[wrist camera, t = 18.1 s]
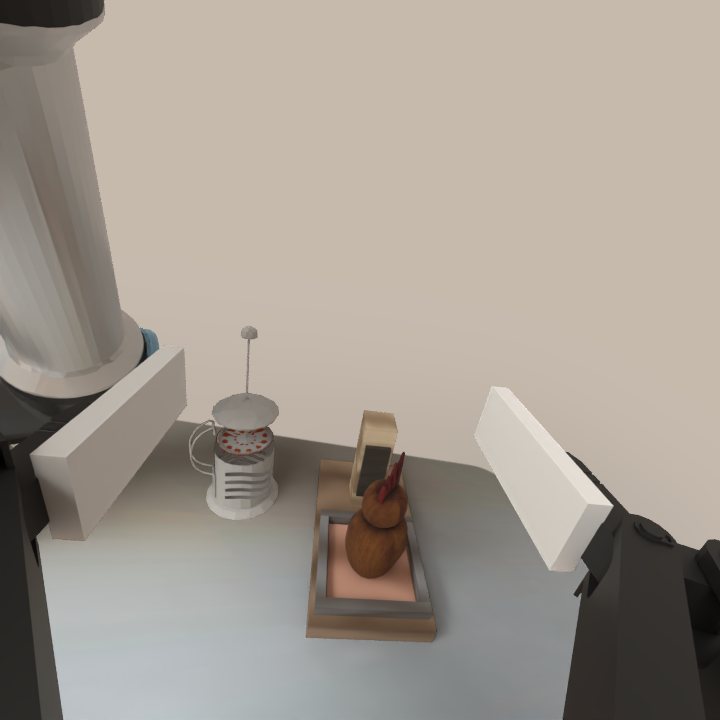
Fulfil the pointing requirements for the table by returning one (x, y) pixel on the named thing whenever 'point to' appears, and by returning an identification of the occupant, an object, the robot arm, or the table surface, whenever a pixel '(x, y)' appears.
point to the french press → (242, 453)
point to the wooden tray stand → (330, 562)
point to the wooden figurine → (378, 527)
